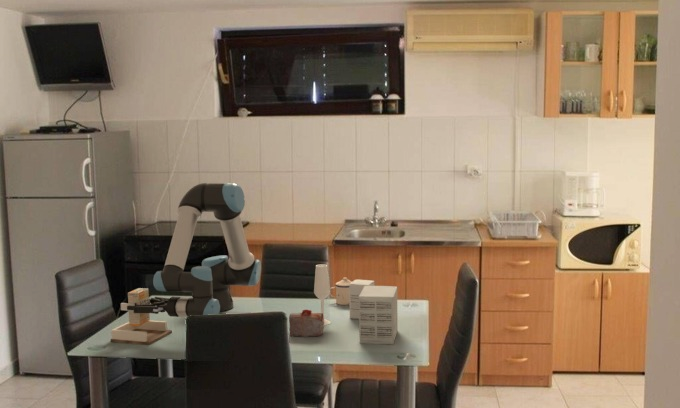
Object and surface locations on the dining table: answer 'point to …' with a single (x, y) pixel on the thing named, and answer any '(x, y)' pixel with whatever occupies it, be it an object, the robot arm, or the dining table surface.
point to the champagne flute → (322, 286)
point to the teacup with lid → (342, 291)
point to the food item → (306, 324)
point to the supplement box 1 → (139, 298)
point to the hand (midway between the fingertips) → (128, 303)
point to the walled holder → (140, 333)
